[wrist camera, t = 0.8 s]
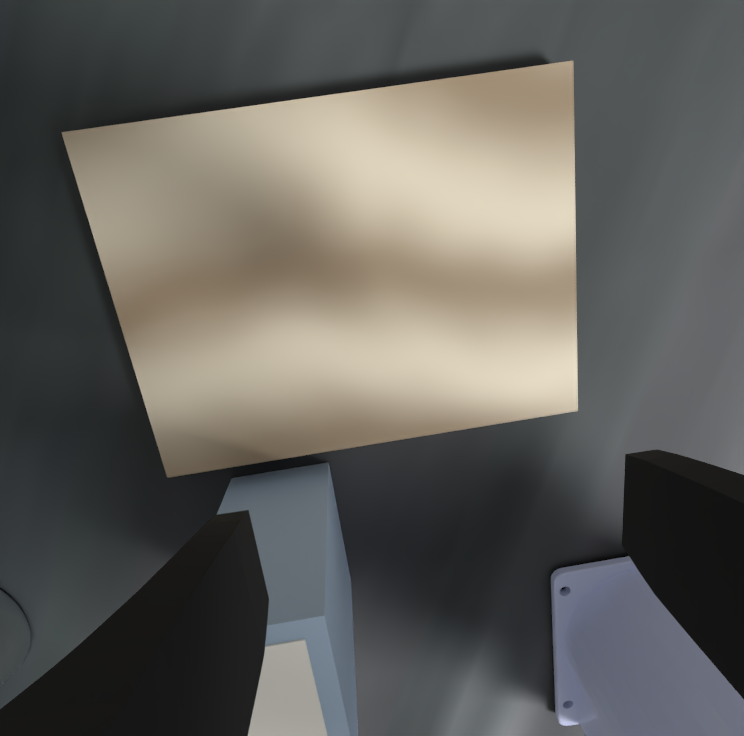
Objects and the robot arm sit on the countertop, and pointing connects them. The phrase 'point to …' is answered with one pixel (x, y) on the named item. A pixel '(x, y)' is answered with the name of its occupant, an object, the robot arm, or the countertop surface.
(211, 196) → the board
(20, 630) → the beer glass
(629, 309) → the countertop surface
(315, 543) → the slab
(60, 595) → the countertop surface
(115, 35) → the countertop surface
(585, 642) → the robot arm
